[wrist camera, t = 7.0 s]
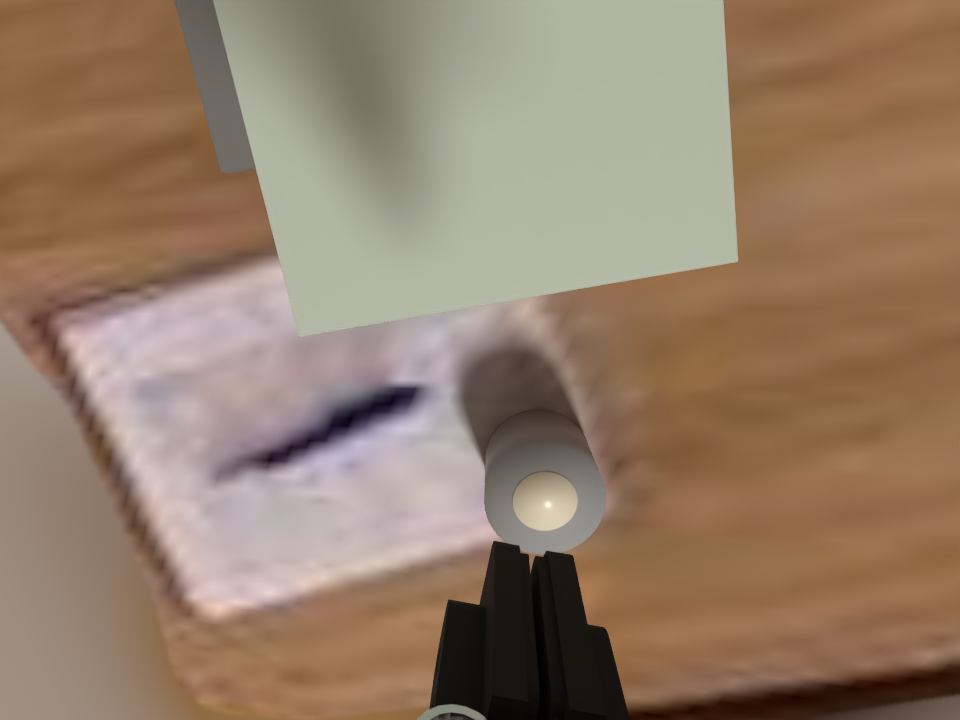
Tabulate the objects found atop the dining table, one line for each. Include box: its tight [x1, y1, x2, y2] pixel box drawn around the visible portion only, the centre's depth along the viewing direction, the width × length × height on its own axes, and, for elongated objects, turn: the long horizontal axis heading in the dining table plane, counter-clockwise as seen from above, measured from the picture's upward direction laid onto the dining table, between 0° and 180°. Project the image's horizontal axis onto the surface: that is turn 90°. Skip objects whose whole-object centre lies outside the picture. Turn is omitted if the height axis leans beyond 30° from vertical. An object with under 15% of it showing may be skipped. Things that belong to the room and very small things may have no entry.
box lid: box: [174, 0, 738, 337], centre depth 19 cm, size 18×17×1 cm
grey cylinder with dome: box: [484, 410, 606, 554], centre depth 31 cm, size 6×6×5 cm
